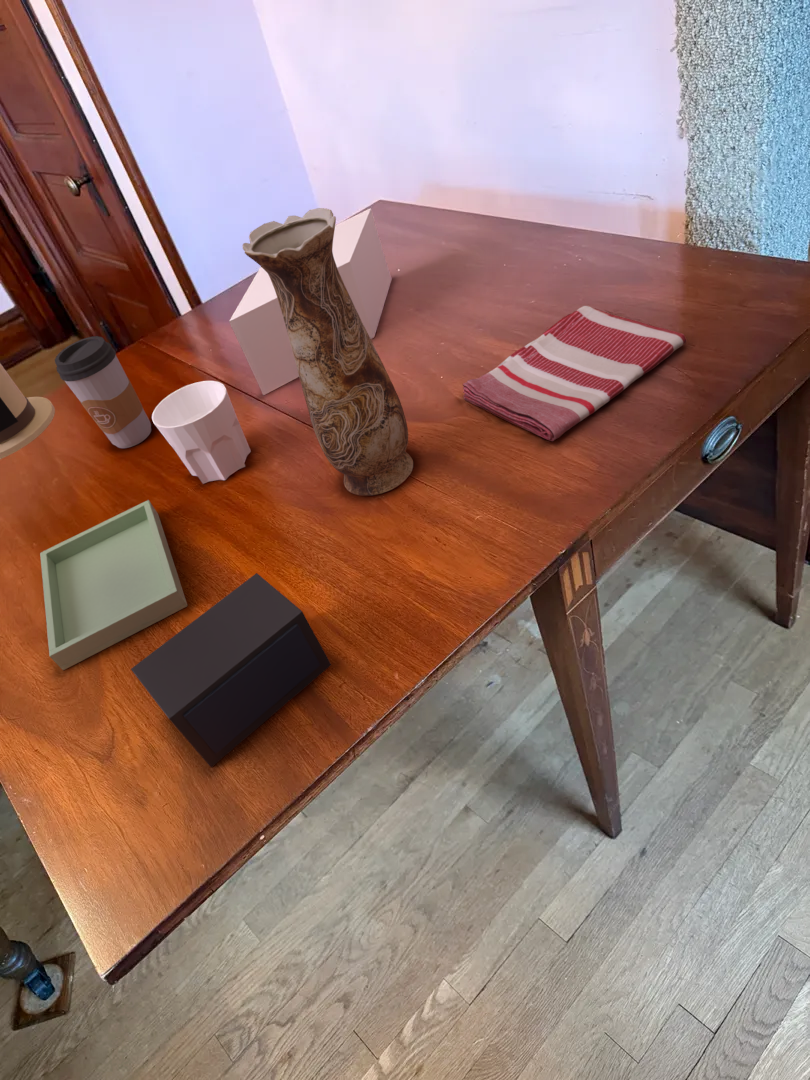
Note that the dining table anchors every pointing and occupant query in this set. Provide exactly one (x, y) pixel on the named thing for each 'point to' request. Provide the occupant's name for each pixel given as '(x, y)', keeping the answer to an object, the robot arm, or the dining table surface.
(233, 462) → the cup
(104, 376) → the coffee cup
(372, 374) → the vase
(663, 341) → the dish towel
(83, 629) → the tray
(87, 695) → the dining table surface
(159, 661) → the black rectangular block
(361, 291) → the block
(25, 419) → the hat
